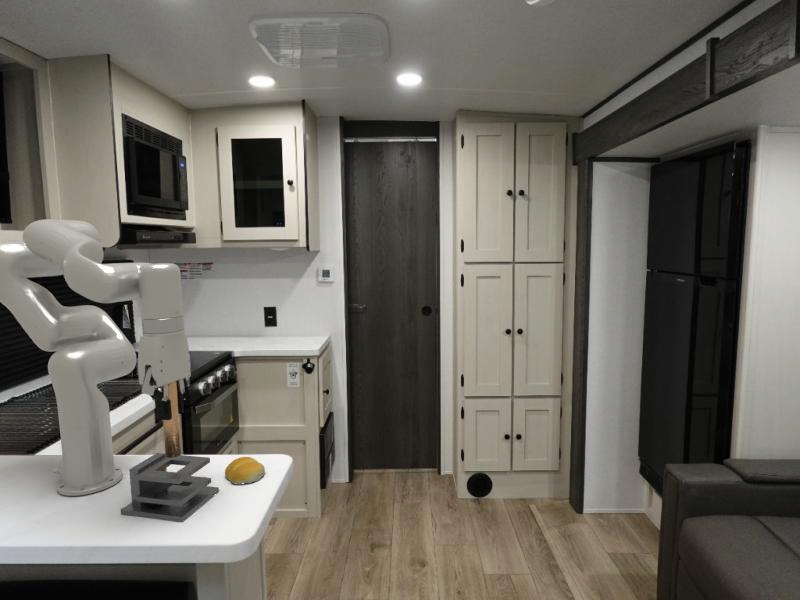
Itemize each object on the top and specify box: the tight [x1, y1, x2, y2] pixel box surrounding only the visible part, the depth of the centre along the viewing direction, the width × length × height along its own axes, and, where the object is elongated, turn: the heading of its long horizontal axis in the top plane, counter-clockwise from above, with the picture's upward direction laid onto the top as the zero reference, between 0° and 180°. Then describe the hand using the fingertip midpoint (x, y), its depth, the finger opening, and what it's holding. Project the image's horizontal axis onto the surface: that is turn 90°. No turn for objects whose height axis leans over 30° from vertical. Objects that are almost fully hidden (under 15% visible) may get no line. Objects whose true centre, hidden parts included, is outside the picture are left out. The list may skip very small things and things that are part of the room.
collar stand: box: [120, 452, 220, 523], centre depth 103 cm, size 14×12×8 cm
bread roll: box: [224, 456, 266, 485], centre depth 114 cm, size 8×9×4 cm
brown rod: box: [159, 381, 183, 458], centre depth 101 cm, size 3×3×20 cm
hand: (170, 415), depth 101 cm, fingers closed on brown rod, 3 cm apart
